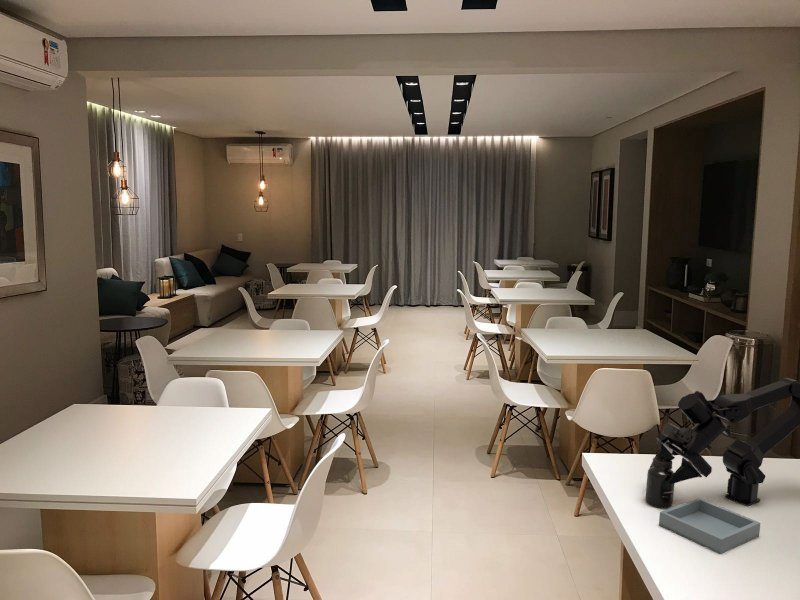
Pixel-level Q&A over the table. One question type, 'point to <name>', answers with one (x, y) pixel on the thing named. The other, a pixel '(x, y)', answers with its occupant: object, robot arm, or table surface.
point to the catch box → (709, 525)
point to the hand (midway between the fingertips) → (659, 475)
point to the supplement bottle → (660, 483)
